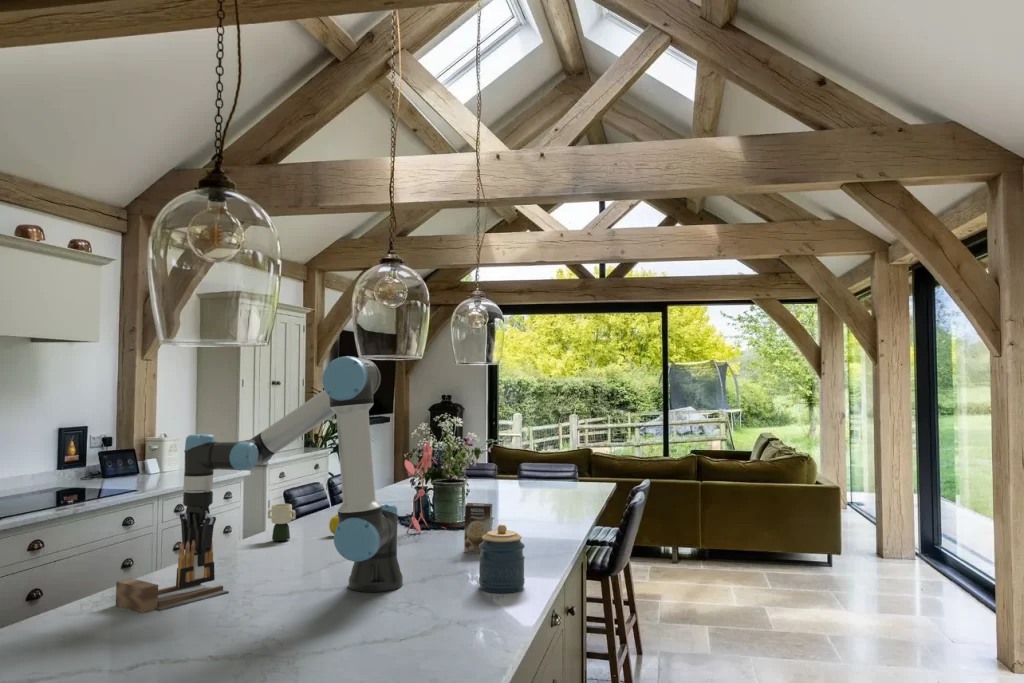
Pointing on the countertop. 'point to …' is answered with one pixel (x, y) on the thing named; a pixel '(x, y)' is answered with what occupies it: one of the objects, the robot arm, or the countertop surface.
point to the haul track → (160, 595)
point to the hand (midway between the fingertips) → (195, 577)
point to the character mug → (281, 520)
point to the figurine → (427, 464)
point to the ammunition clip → (187, 566)
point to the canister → (501, 561)
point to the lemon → (333, 524)
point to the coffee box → (476, 525)
